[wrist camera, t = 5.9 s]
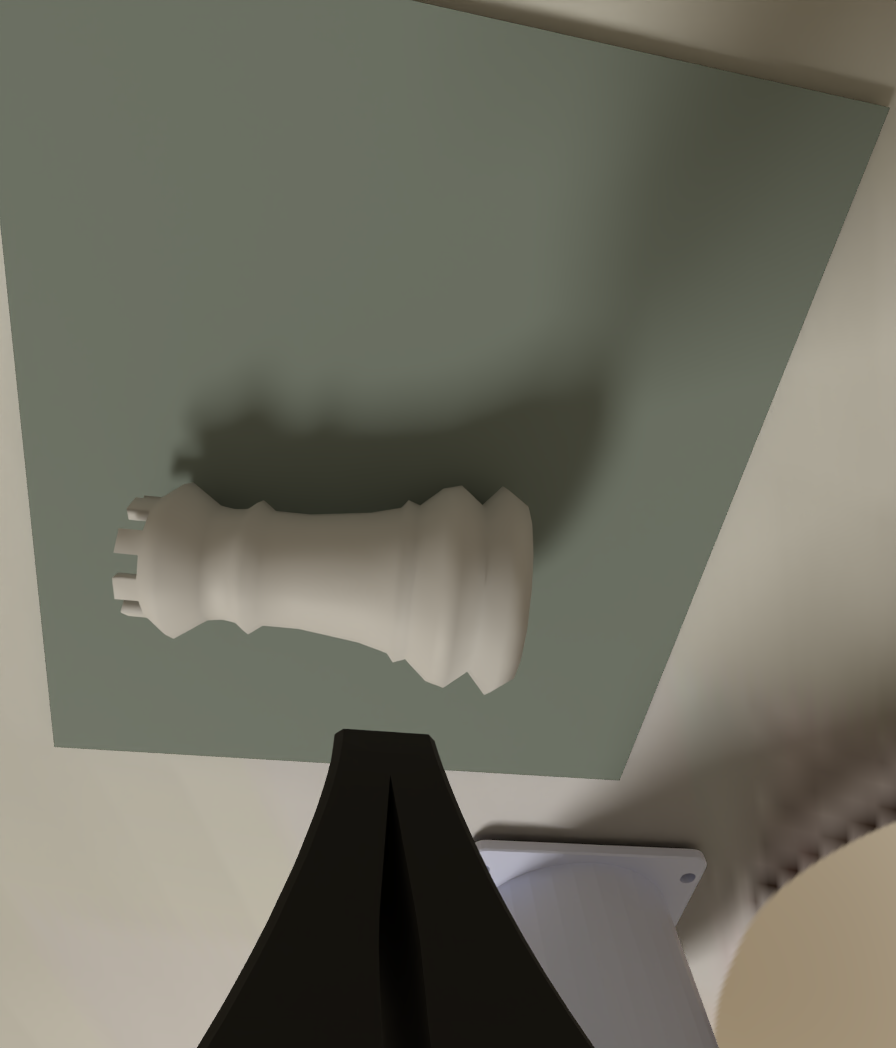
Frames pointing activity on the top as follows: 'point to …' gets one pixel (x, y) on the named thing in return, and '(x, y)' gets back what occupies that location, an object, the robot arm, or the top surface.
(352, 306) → the mat
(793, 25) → the top surface
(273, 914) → the robot arm
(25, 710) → the top surface
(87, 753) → the top surface
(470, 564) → the rook chess piece
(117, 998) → the top surface
